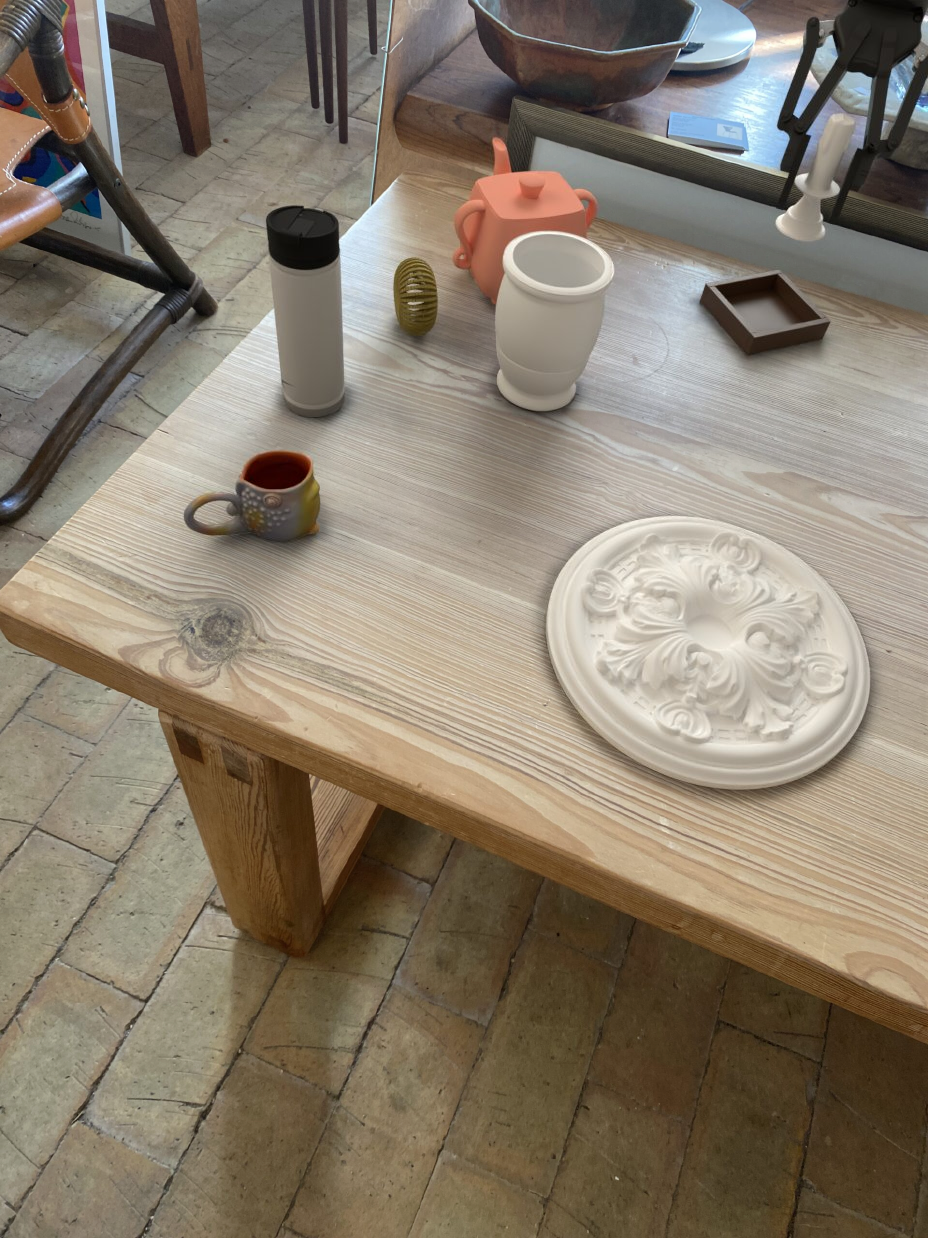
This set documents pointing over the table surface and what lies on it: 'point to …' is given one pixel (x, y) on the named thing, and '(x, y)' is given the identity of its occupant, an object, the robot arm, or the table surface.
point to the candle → (818, 182)
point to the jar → (548, 316)
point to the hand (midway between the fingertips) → (807, 211)
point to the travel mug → (307, 307)
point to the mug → (267, 499)
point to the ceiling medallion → (707, 652)
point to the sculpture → (415, 296)
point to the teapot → (514, 216)
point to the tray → (764, 312)
